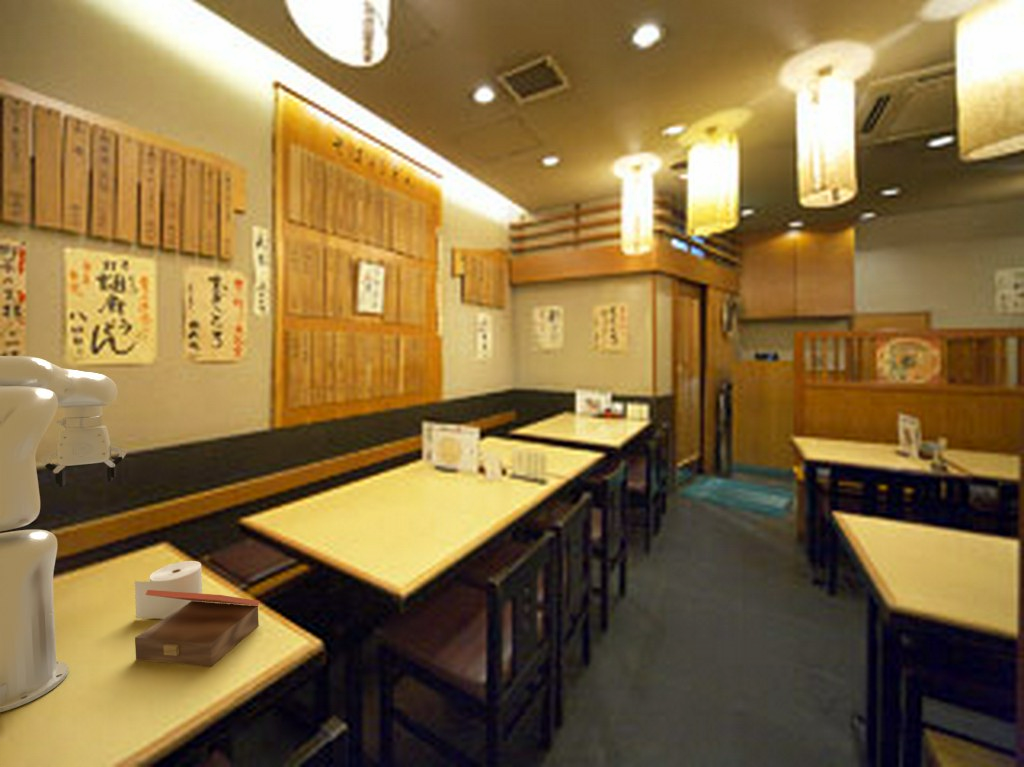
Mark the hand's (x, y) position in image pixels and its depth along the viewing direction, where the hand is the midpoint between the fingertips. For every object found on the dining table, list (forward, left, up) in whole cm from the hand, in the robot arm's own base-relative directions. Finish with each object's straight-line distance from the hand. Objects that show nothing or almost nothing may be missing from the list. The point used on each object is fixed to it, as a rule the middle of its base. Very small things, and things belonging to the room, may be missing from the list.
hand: (86, 483), depth 117 cm
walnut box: (-17, -50, -31) cm, 61 cm away
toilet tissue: (-6, -32, -31) cm, 45 cm away
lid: (-15, -50, -22) cm, 57 cm away
